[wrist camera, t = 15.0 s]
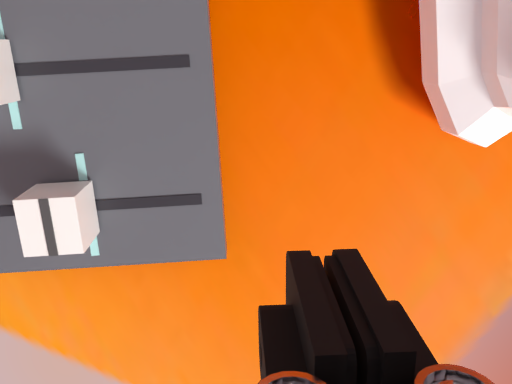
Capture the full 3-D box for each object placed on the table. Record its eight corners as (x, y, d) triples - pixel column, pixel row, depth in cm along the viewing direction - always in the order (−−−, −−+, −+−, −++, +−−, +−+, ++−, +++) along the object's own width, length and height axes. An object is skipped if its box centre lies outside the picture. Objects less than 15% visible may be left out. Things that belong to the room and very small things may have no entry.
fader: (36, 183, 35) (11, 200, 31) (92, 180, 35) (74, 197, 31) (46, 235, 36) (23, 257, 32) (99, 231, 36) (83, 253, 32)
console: (-54, -2, 33) (-72, -5, 31) (207, -15, 34) (205, -19, 32) (5, 262, 39) (-8, 274, 37) (226, 248, 39) (226, 259, 37)
